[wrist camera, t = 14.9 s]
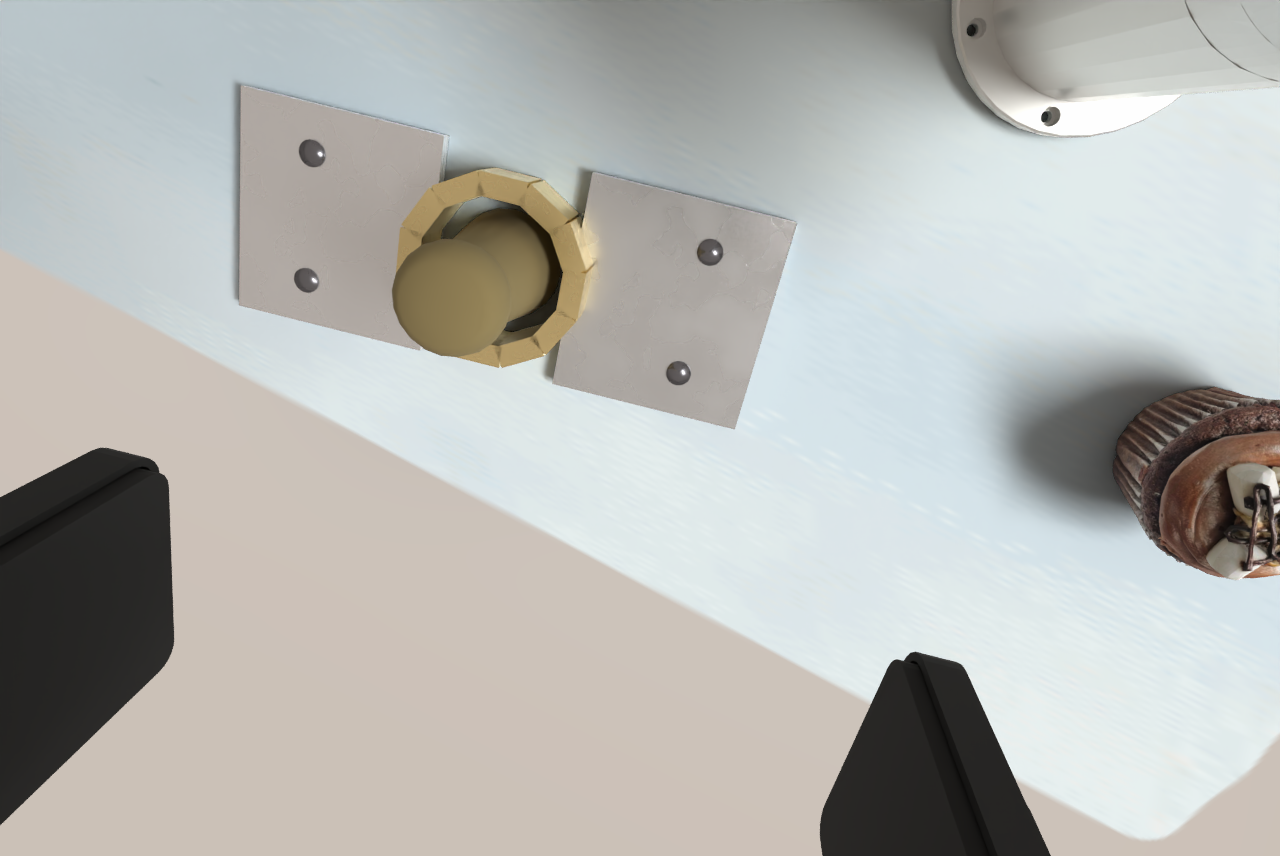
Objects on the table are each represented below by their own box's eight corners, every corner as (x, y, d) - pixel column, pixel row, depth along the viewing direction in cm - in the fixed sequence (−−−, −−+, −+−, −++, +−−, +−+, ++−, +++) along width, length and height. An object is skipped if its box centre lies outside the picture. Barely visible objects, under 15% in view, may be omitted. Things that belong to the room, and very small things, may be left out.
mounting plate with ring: (249, 86, 39) (213, 83, 36) (795, 221, 39) (801, 228, 36) (247, 302, 44) (215, 313, 41) (734, 424, 43) (735, 444, 41)
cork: (439, 282, 42) (350, 331, 32) (482, 187, 40) (401, 206, 30) (531, 335, 43) (473, 399, 33) (579, 244, 40) (532, 282, 30)
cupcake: (1098, 539, 44) (1199, 648, 35) (1092, 390, 41) (1201, 467, 31) (1278, 511, 42) (1434, 618, 33) (1286, 353, 39) (1463, 423, 30)
